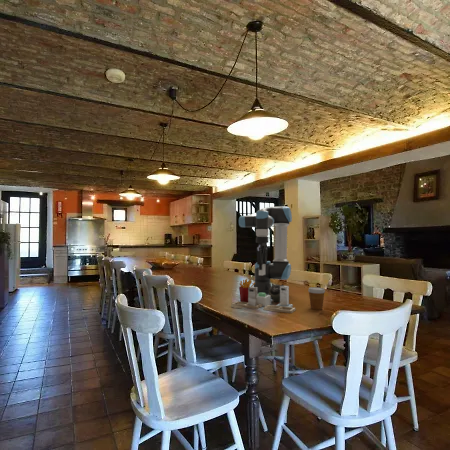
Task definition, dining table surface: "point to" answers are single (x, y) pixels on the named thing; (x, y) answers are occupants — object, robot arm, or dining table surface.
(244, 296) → the french fries
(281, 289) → the block
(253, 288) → the pallet
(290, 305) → the tote
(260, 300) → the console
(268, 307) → the pallet
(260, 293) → the button
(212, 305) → the dining table surface
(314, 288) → the disposable coffee cup
